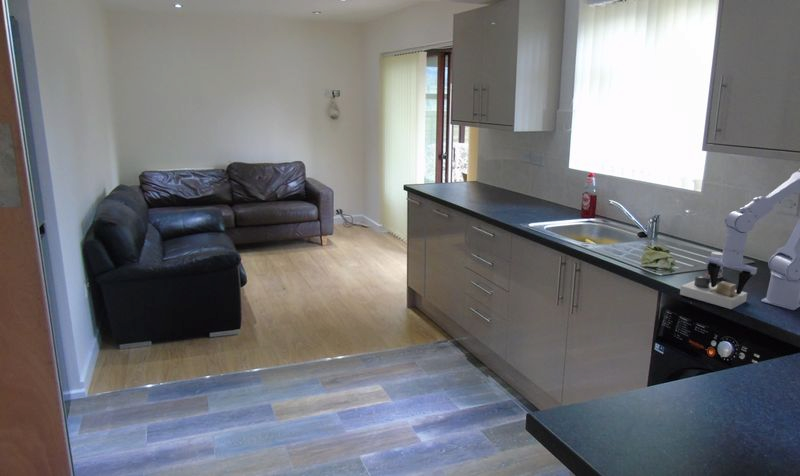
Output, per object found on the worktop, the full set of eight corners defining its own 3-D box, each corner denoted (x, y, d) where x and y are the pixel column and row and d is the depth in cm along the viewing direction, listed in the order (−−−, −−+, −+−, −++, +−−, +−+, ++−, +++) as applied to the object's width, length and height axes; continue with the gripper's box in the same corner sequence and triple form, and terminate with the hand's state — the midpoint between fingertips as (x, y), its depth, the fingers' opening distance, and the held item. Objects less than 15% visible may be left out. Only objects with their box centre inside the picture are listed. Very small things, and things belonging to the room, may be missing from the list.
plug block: (732, 301, 184) (736, 284, 183) (727, 304, 182) (730, 286, 180) (719, 298, 187) (723, 281, 186) (714, 300, 185) (717, 283, 183)
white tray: (745, 301, 185) (749, 284, 184) (731, 309, 178) (734, 291, 176) (695, 287, 197) (698, 271, 195) (679, 294, 189) (682, 277, 188)
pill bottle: (707, 273, 215) (711, 250, 212) (722, 276, 211) (727, 253, 209) (704, 276, 211) (708, 253, 208) (719, 279, 207) (724, 256, 205)
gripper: (704, 245, 183) (697, 285, 186) (754, 256, 172) (745, 298, 176) (713, 242, 188) (706, 281, 191) (762, 253, 177) (754, 294, 180)
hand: (725, 289), depth 184 cm, fingers open, 7 cm apart
